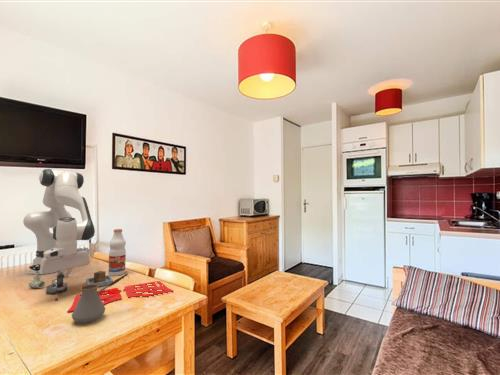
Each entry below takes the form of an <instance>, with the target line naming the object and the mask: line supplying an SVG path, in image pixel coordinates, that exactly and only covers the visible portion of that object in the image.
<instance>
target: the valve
mask: <svg viewBox="0 0 500 375" xmlns="http://www.w3.org/2000/svg"><path fill="white" fill-rule="evenodd" d="M28 268H29V269H30V270H35V271H36V272H35V274H34V277H33V279H31V280H30V281H29V283H28V287H30V288H32V289H43V288H44V287H45V286H46V282H45V281H43V280H40V279H41V276H40V274H39V272H38V271H39V270H40V265H39V264H37V265H33V264H32V265H29V267H28ZM33 268H35V269H33Z"/></svg>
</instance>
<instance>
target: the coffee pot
mask: <svg viewBox="0 0 500 375" xmlns="http://www.w3.org/2000/svg"><path fill="white" fill-rule="evenodd" d="M126 277H128V279H129V278H130V275H129V274H128V273H124V274H123V275H121V276H120V277H118V278H117V279H115V280H113V282H112V283H110V284H109V285H108V286H105V287H101V288H100V287H99V286H98V285H84V286H82V287H80V288H79V290H80V291H81V294H82V295H81V296H80V299H79V301H78V303H77V305H76V307H75V309H74V312H72V314H71V318H72V320H73V321H75V323H77V324H79V325H87V324H91V323H94V322H96V321H98V320H99V319H100V318H101V317H102V316H103V315H104V313H105V312H106V307H105V305H103V303H102V302H103V301H101V299H100V297H99V295H98V293H100V292H102V291H103V290H107V289H109V287H111V286H114V285H115V284H116V283H118V282H120V281H121V280H122V279H124V278H126ZM98 287H99V288H100V289H99V288H98ZM98 289H99V290H98Z"/></svg>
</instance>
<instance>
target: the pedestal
mask: <svg viewBox="0 0 500 375" xmlns="http://www.w3.org/2000/svg"><path fill="white" fill-rule="evenodd" d="M68 290H69V283H68V282H63V289H61V290H56V288H55V286H52V283H51V284H49V285H47V286H46V288H45V294H46V295H48V296H49V295H50V296H52V295H59V294H63V293H65V292H67V291H68ZM58 301H59V298H58V297H55V298H54V302H58Z"/></svg>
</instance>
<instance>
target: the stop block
mask: <svg viewBox="0 0 500 375" xmlns="http://www.w3.org/2000/svg"><path fill="white" fill-rule="evenodd" d="M105 276H106V270H105V271H104V270H99V271H95V272H93V278H94V283H98V282H104V281H105Z"/></svg>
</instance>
